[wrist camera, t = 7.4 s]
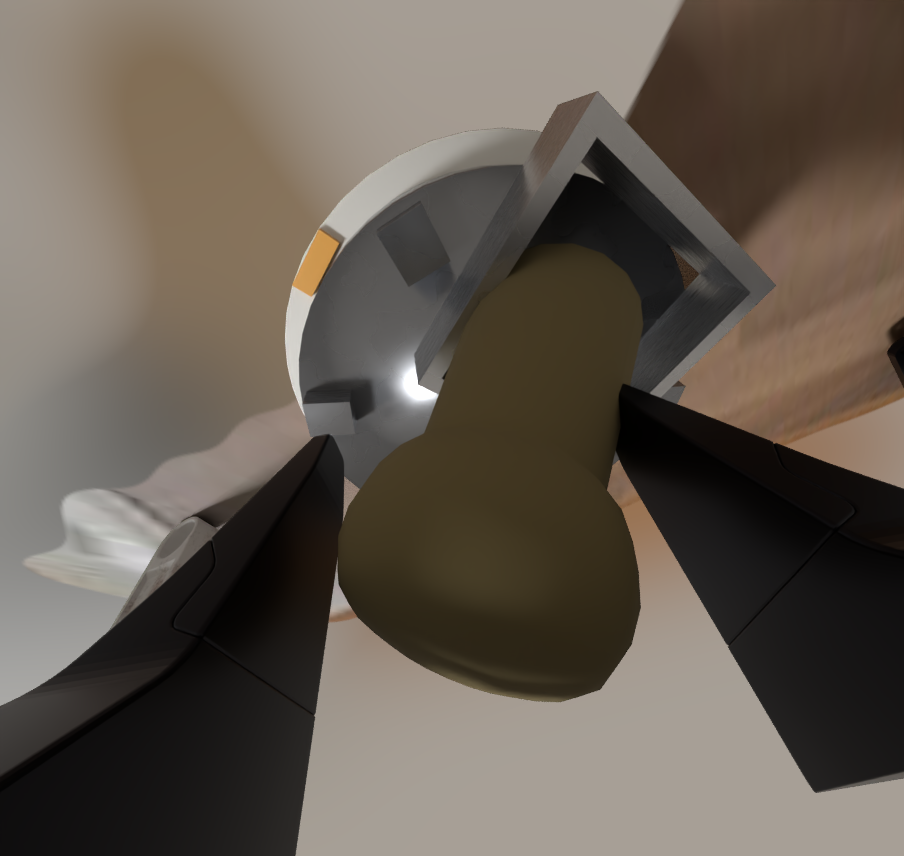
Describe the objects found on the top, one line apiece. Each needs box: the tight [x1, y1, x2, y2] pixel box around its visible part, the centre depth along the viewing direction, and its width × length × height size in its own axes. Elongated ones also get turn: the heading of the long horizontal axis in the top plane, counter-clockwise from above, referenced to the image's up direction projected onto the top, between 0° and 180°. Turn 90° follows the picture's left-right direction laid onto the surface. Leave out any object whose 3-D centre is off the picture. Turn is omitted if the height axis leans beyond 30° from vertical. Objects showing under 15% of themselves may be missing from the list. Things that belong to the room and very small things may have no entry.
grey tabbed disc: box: [299, 91, 776, 489], centre depth 16 cm, size 17×17×4 cm
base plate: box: [285, 128, 604, 415], centre depth 18 cm, size 19×19×1 cm
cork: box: [338, 243, 643, 702], centre depth 9 cm, size 6×6×11 cm
